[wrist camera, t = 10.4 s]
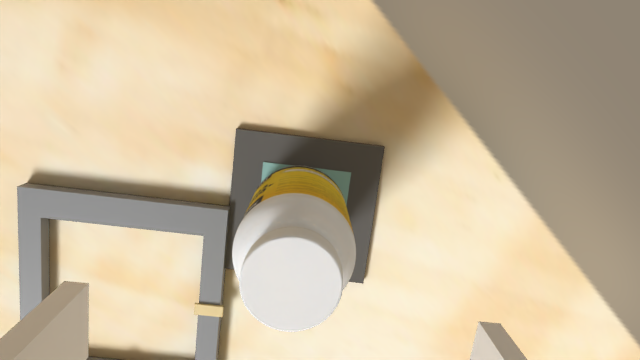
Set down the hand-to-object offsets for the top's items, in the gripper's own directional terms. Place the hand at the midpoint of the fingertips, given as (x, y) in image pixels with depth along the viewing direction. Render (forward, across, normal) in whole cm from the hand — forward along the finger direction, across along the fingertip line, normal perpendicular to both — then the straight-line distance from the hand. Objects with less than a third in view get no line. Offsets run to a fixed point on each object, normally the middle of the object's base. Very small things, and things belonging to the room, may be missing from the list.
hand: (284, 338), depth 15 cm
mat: (+17, +1, -1) cm, 17 cm away
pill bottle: (+17, 0, -1) cm, 17 cm away
